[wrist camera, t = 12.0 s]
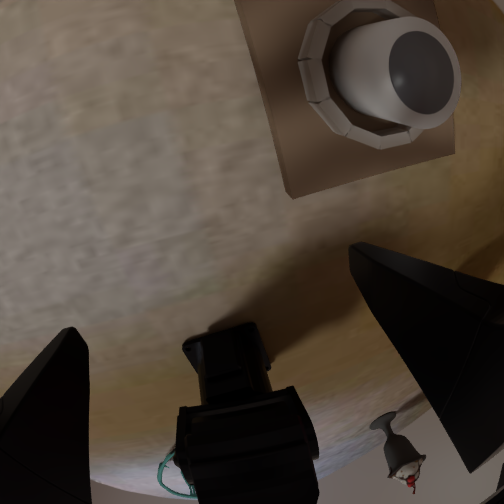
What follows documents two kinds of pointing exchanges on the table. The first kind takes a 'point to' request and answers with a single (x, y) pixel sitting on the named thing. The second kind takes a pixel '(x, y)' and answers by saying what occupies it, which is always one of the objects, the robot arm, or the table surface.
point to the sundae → (399, 453)
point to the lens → (397, 72)
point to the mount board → (328, 93)
